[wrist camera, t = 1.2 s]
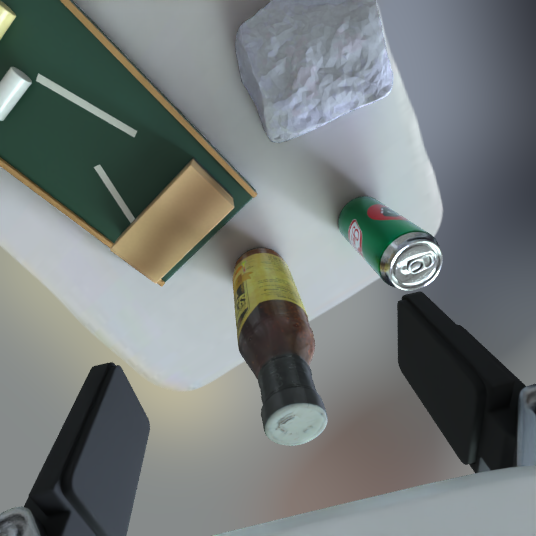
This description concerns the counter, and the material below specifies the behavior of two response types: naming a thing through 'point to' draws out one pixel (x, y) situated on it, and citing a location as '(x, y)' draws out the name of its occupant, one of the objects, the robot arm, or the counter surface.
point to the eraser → (174, 222)
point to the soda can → (390, 243)
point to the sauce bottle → (277, 347)
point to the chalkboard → (95, 125)
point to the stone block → (312, 62)
